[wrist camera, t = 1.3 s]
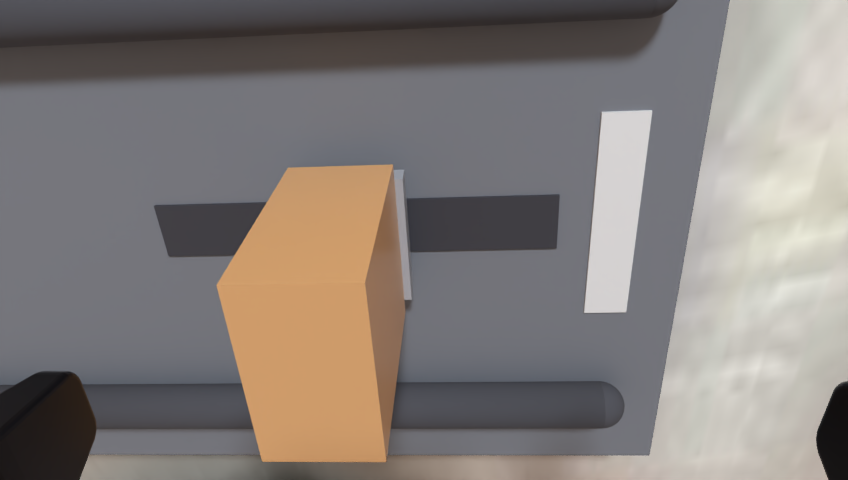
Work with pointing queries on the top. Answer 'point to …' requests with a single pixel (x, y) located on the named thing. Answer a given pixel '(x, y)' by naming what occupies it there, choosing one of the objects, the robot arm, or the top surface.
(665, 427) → the top surface
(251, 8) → the grey slider track
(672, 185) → the panel
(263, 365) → the breaker handle
